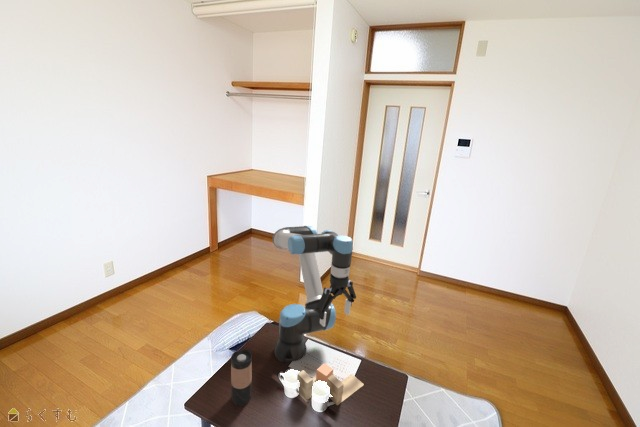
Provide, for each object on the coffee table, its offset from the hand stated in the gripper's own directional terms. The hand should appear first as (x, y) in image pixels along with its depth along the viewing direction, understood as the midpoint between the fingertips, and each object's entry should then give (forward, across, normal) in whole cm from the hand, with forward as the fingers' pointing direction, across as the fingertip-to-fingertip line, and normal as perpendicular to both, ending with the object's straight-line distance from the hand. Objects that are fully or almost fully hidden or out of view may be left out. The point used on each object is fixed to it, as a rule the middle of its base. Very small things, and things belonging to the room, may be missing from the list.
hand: (334, 319), depth 126 cm
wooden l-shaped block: (+27, -2, -12) cm, 30 cm away
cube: (+26, -6, -3) cm, 27 cm away
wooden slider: (+27, -10, -3) cm, 29 cm away
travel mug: (+28, -38, +9) cm, 47 cm away
